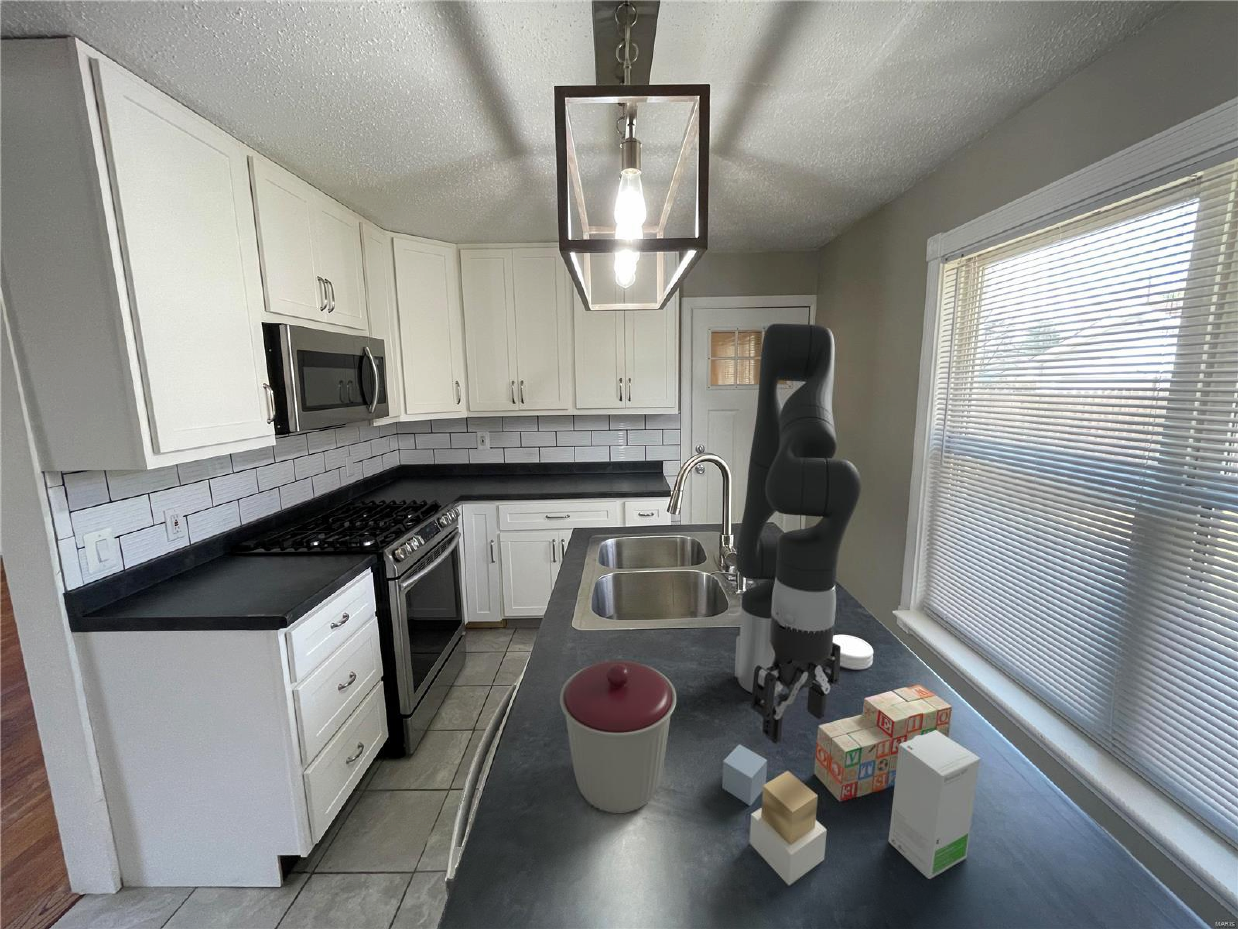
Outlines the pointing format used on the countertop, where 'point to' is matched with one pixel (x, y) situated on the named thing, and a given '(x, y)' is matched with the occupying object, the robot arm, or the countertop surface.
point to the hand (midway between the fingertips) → (794, 726)
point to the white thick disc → (854, 652)
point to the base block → (787, 848)
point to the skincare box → (933, 802)
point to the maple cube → (789, 807)
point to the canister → (618, 732)
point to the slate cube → (744, 774)
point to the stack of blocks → (876, 740)
